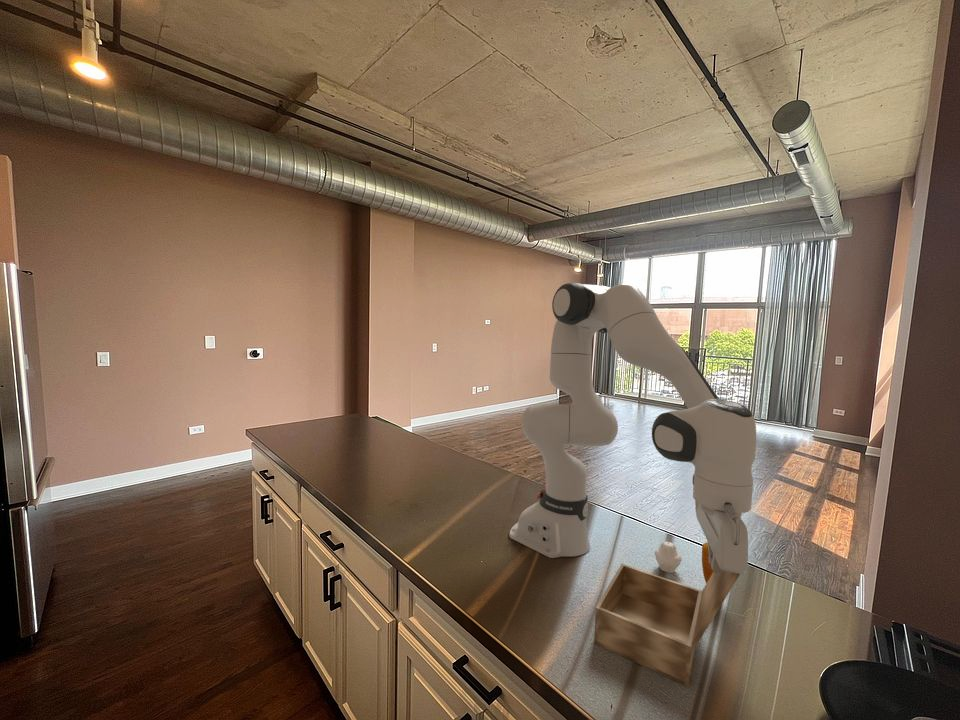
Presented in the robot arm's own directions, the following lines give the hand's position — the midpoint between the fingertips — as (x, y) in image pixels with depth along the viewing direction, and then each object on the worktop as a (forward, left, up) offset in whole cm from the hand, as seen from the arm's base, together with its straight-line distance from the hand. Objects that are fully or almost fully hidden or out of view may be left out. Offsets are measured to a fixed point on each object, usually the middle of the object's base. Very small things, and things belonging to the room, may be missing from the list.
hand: (715, 568), depth 71 cm
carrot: (-1, +22, -17) cm, 28 cm away
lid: (0, 0, -2) cm, 2 cm away
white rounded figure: (-11, +26, -17) cm, 33 cm away
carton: (-10, 0, -17) cm, 20 cm away
